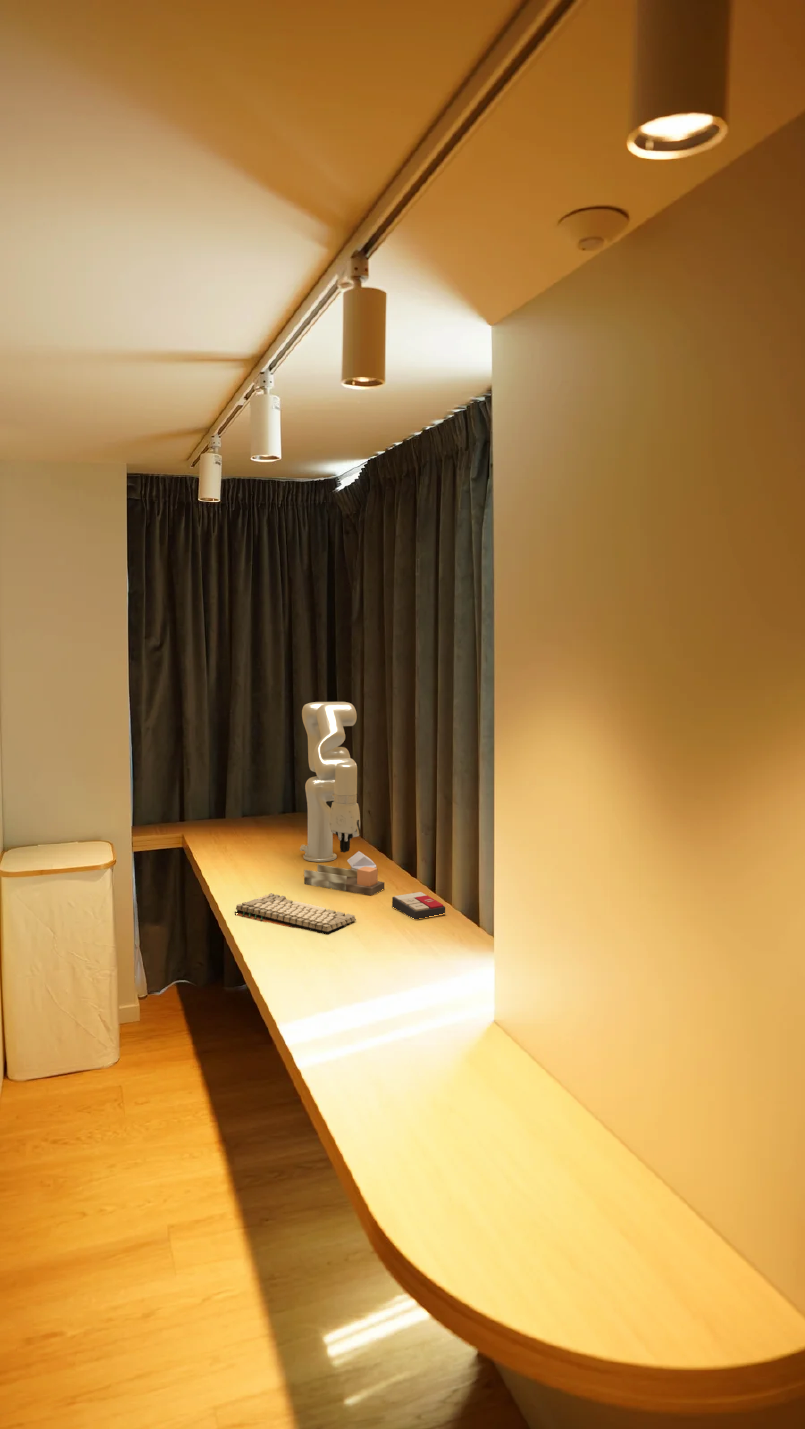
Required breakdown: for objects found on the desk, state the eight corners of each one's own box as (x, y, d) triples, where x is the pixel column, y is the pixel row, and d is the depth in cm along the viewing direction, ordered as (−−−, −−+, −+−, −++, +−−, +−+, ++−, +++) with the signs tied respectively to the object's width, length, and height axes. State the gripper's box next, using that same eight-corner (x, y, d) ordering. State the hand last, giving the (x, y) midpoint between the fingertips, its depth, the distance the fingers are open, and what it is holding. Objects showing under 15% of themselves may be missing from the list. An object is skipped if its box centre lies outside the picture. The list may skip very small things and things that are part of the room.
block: (357, 884, 325) (357, 869, 324) (364, 880, 329) (365, 866, 329) (369, 886, 322) (370, 871, 322) (377, 882, 327) (377, 868, 326)
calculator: (415, 909, 295) (391, 894, 308) (415, 923, 296) (391, 907, 309) (446, 904, 300) (421, 889, 313) (445, 917, 301) (421, 902, 314)
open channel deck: (304, 883, 333) (304, 869, 333) (318, 878, 341) (318, 864, 340) (371, 895, 320) (371, 880, 320) (384, 889, 328) (384, 875, 327)
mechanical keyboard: (363, 921, 296) (363, 910, 296) (326, 938, 280) (326, 927, 279) (268, 901, 316) (268, 891, 315) (228, 916, 300) (228, 905, 299)
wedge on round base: (346, 869, 353) (353, 879, 340) (346, 851, 352) (354, 860, 340) (370, 868, 355) (378, 877, 343) (370, 850, 355) (379, 859, 342)
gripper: (321, 798, 328) (320, 850, 330) (358, 803, 320) (357, 857, 323) (333, 794, 334) (332, 845, 337) (370, 799, 327) (369, 852, 329)
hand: (344, 851), depth 330 cm, fingers closed
